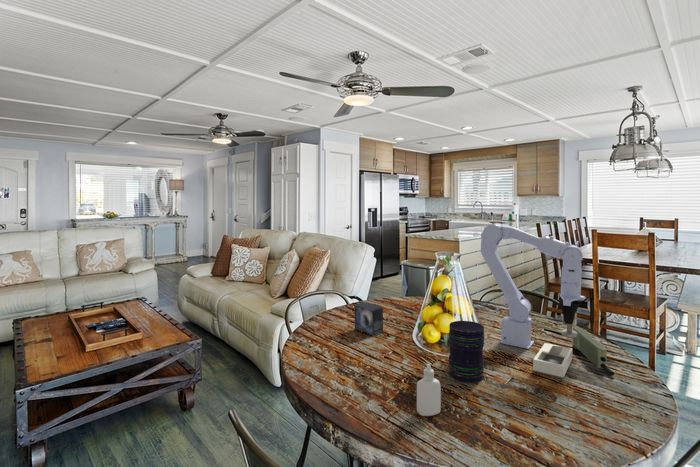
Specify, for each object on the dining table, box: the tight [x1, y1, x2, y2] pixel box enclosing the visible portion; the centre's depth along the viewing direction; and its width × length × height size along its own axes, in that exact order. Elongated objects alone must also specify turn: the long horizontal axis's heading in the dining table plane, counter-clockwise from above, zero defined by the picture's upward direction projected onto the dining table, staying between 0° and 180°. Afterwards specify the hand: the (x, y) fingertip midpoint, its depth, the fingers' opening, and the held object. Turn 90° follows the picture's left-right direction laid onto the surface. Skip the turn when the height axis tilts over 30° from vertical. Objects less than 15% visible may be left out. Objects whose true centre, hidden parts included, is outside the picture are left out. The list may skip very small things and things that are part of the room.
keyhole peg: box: [561, 311, 578, 339], centre depth 126 cm, size 4×4×8 cm
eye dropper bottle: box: [416, 363, 442, 417], centre depth 92 cm, size 4×6×12 cm
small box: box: [353, 301, 384, 336], centre depth 149 cm, size 11×6×10 cm, turn 42°
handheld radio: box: [572, 326, 615, 377], centre depth 120 cm, size 7×3×25 cm
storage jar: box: [448, 320, 485, 384], centre depth 110 cm, size 10×10×15 cm
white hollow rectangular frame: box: [532, 342, 574, 380], centre depth 117 cm, size 16×8×4 cm, turn 142°
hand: (569, 322), depth 126 cm, fingers closed on keyhole peg, 3 cm apart
